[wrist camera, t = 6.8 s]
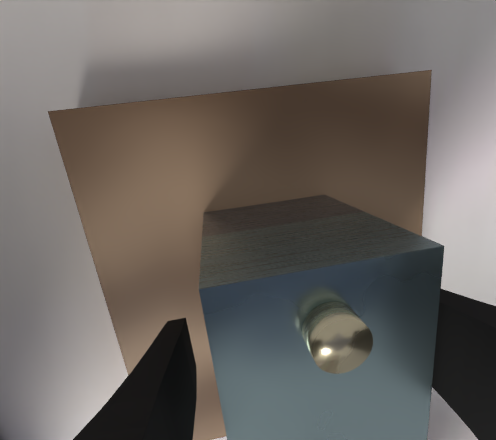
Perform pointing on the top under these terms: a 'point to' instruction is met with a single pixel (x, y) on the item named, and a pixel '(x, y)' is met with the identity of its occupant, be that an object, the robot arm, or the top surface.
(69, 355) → the top surface
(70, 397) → the top surface
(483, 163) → the top surface
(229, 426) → the housing
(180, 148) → the stand
